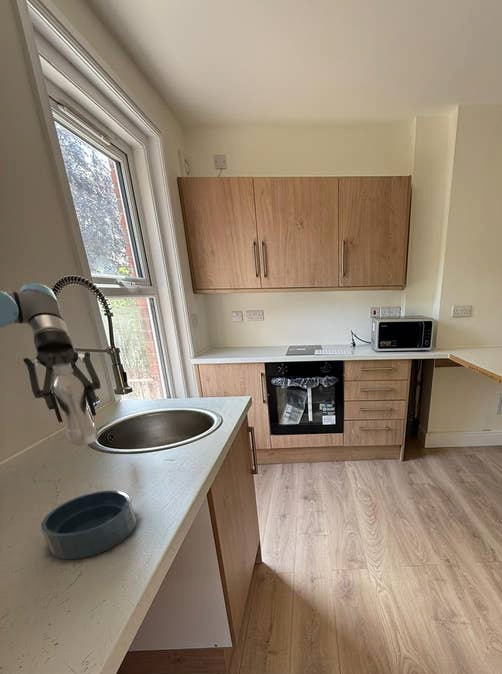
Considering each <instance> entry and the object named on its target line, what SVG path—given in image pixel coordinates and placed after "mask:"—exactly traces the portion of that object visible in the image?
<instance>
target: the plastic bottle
mask: <svg viewBox="0 0 502 674" xmlns="http://www.w3.org/2000/svg"><path fill="white" fill-rule="evenodd" d="M52 367H53V371H54V374H55V376H54V381H53V384H52V393H54V396H55V398H56V402H57V404H58V405H59V407H60V408H59V409H60V410H61V413H62V416H63V420H64V425H65V434H66V438H67V440H68V442H69V444H71V445H73V446H86V445H89V444H92V443H94V442H96V441H97V439H98V437H99V435H98V430H97V427H96V425H95V423H94V422H93V419H92V417H91V414H90V411H89V407H88V401H87V398H86V395H85V387H84V384H83V383H82V381H81V380H80V379H79V378H77V377H76V376H75V375H74V374H73V373H72V372H73V369H72V366H71V364H70V363H63V364H56V365H52Z"/></svg>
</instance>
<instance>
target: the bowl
mask: <svg viewBox="0 0 502 674" xmlns="http://www.w3.org/2000/svg"><path fill="white" fill-rule="evenodd" d="M136 525H137V518H136V513H135V511H134V508H133V504H132V500H131V498H130V496H129V495H128V494H127V493H125V492H124V491H119V490H114V489H113V490H100V491H95V492H89V493H86V494H83V495H79V496H76V497H74V498H72V499H69V500H67V501H65V502H63V503H61V504H60V505H58V506H56V507H55V508H53V509H52V510H51V511H50V512H48V513H47V514H46V515H45V516H44V518H43V520H42V522H41V523H40V527H41V532H42V535H43V536H44V539H45V541H46V543H47V546H48V549H49V551H50V553H51V554H52V555H53V556H55V557H56V558H58V559H63V560H80V559H83V558H88V557H93V556H96V555H98V554H101V553H102V552H105V551H108V550H110V549H112V548H114V547H115V546H117V545H119V544H120V543H122V542H123V541H124V540H126V539H127V538H128V537H129V536H130V535H131V534H132V533H133V531H134V530H135V528H136Z"/></svg>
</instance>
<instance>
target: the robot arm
mask: <svg viewBox="0 0 502 674" xmlns="http://www.w3.org/2000/svg"><path fill="white" fill-rule="evenodd" d="M13 324H28V327H29V330H30V334H31V337H32V340H33V343H34V346H35V350H36V356H35V357H33V358H28V357H24V358H23V361H22V362H23V364H24V366H25V368H26V370H28V375H29V376H28V377H29V381H30V387H31V392H32V394H33V396H34V398H36V399H41V398H42V399H44V400H45V404H46V407H47V409H48V410H49V411H51V410H54V412H55V416H56V418H57V422H58V423H63V418H62V415H61V412H60V408H59V406H58V405H59V404H58V401H57V399H56V397H55V395H54V393H53V391H52V384H53V381H54V379H55V377H56V374H54V371H53V367H52V365H56V364H63V363H70V364H71V366H72V369H73V372H72V373H73V374H74V375H75V376H76V377H77V378H79V379H80V380H81V381H82V383H83V384H84V387H85V395H86V402H87V405H88V406H89V407H88V408H89V410H90V413H91V415H92V417H94V416H97V412H96V408H95V405H94V403H96V402H97V395H96V391H95V390H100V389H101V381H100V378H99V377H98V374H97V371H96V370H95V368H94V366H93V363H92V357H91V353H90V352H89V351H86V352H84V353H78V352H77V351H76V350H75V347H74V345H73V342H72V339H71V337H70V333H69V331H68V328H67V325H66V323H65V319H64V317H63V313H62V310H61V307H60V303H59V301H58V299H57V297H56V295H55V293H54V291H53V290H52V289H51V288H50V287H48V286H47V285H44V284H41V283H30V284H25V285H23V286H21V287H20V288H19V290H18V291H6V290H0V328H3V327H4V328H5V327H7V326H10V325H13ZM79 360H80V362H81V363H83V364H84V365H85V369H86V371H87V372H88V375H89V378H90V379H91V380H89V379H88V377H86V375H85V374H84V372H83V371H81V369H80V368H79V367H78V366H77V365H76V363H77V361H79ZM39 364H40V365H41V366H43V367H45V375H44V381H43V386H42V389H41V387H40V384H39V383H40V382H39V377H38V373H37V370H36V369H37V368H38V367H39V366H38V365H39ZM91 381H92V382H91Z"/></svg>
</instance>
